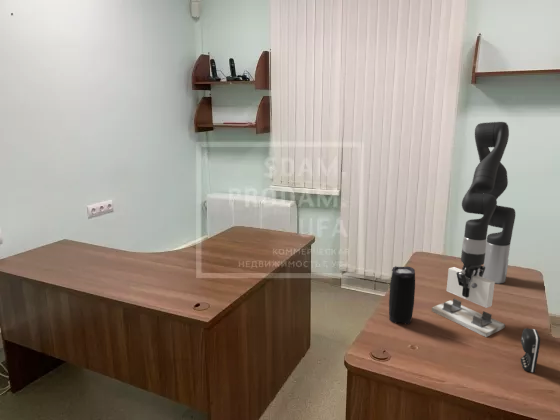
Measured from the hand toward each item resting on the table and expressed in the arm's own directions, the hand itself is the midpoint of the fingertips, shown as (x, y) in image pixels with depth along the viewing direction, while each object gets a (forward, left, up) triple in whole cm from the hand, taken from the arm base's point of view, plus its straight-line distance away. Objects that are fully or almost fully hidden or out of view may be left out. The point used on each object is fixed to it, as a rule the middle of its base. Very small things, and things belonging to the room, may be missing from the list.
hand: (468, 295), depth 154 cm
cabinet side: (-1, 0, -10) cm, 10 cm away
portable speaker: (+20, -13, -10) cm, 26 cm away
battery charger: (+10, +27, -10) cm, 31 cm away
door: (0, 0, -1) cm, 1 cm away
